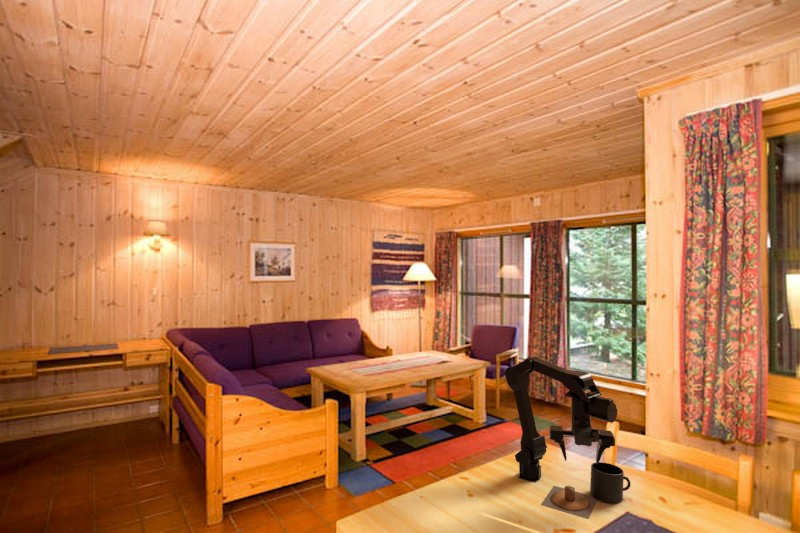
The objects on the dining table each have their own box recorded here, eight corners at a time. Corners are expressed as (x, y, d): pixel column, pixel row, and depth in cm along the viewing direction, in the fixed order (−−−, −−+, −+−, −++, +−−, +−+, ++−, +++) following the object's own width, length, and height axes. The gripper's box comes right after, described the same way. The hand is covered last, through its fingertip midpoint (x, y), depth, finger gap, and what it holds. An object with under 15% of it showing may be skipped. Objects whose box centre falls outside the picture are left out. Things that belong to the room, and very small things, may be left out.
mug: (636, 506, 135) (637, 477, 135) (596, 502, 136) (597, 473, 136) (623, 491, 144) (624, 464, 144) (586, 488, 145) (587, 460, 145)
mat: (540, 506, 136) (540, 504, 136) (553, 487, 147) (553, 485, 147) (588, 520, 128) (588, 518, 128) (598, 499, 139) (598, 497, 139)
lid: (546, 503, 136) (546, 491, 136) (557, 488, 145) (556, 476, 145) (584, 514, 130) (583, 501, 130) (592, 498, 139) (592, 485, 139)
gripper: (550, 419, 133) (550, 470, 133) (618, 425, 127) (618, 478, 127) (549, 407, 143) (549, 454, 144) (611, 412, 138) (612, 461, 138)
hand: (581, 462), depth 138 cm, fingers open, 9 cm apart
